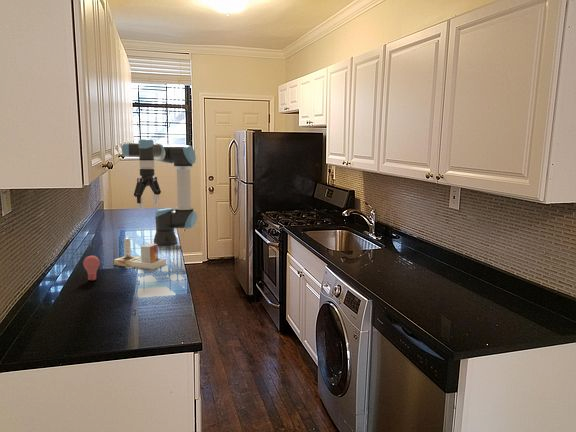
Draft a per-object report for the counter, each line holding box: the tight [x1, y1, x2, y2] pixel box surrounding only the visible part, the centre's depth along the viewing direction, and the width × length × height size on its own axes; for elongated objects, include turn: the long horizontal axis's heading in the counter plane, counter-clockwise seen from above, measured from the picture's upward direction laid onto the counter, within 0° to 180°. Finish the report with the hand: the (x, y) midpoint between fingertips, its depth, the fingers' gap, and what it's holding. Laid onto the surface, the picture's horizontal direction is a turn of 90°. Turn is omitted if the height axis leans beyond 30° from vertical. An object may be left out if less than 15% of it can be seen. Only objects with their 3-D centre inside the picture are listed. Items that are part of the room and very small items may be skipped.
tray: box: [131, 257, 167, 271], centre depth 236 cm, size 12×13×3 cm
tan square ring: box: [113, 255, 141, 268], centre depth 239 cm, size 10×10×3 cm
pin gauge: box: [123, 237, 132, 260], centre depth 238 cm, size 3×3×14 cm
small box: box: [140, 243, 159, 263], centre depth 236 cm, size 8×6×10 cm
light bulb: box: [82, 255, 100, 281], centre depth 208 cm, size 7×7×12 cm
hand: (148, 207), depth 237 cm, fingers open, 13 cm apart
